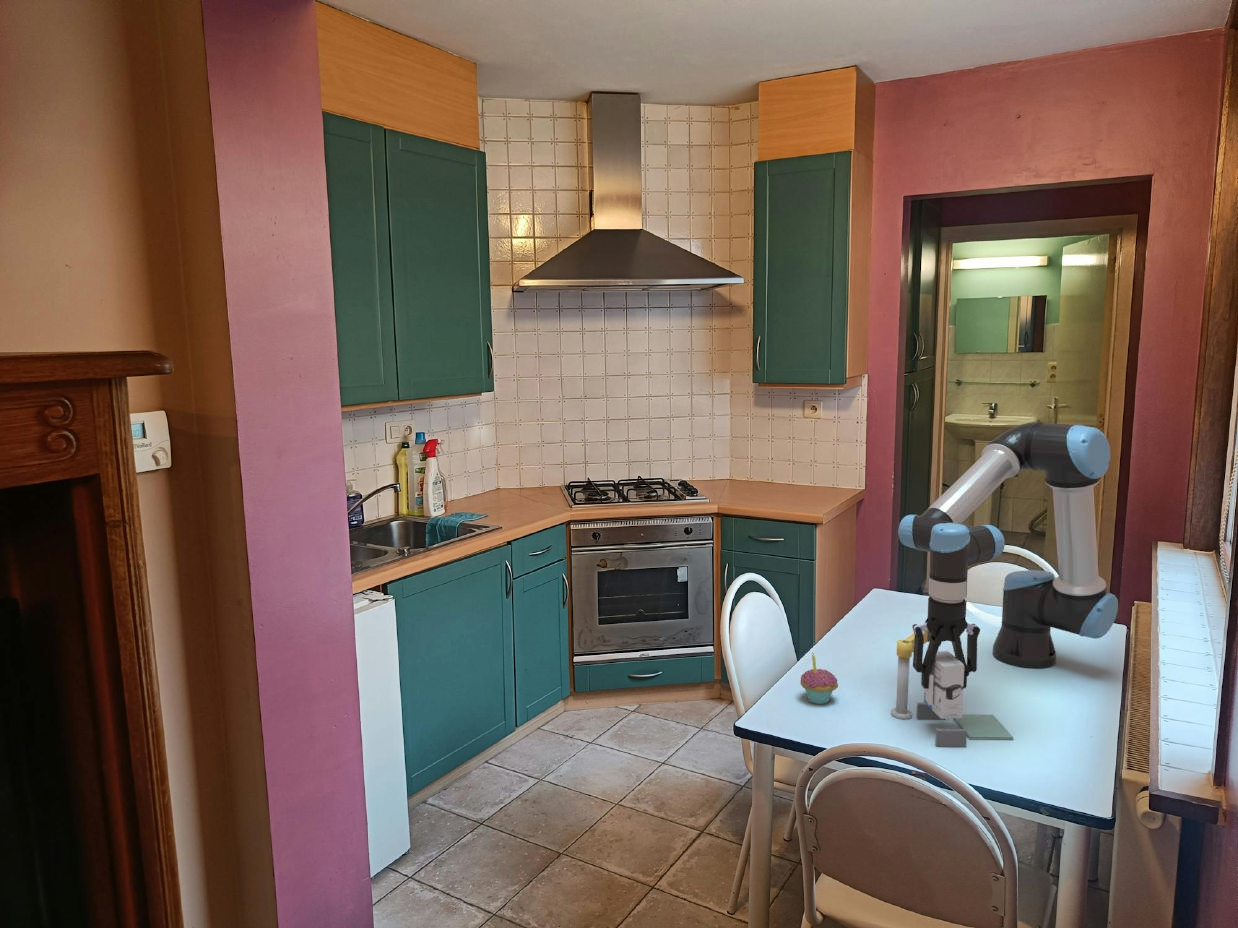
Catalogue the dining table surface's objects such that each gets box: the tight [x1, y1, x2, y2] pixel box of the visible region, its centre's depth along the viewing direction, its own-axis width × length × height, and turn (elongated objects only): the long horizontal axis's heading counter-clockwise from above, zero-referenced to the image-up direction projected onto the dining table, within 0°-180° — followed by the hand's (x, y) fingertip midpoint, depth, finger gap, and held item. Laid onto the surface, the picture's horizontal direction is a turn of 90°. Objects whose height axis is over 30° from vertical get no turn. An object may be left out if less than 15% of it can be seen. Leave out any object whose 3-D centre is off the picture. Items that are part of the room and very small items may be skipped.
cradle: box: [890, 656, 968, 748], centre depth 187 cm, size 11×17×14 cm, turn 178°
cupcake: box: [800, 652, 839, 705], centre depth 202 cm, size 9×8×12 cm
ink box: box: [923, 650, 964, 720], centre depth 185 cm, size 8×5×12 cm, turn 5°
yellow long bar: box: [896, 629, 931, 658], centre depth 196 cm, size 15×3×3 cm, turn 140°
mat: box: [952, 713, 1014, 741], centre depth 188 cm, size 9×11×1 cm
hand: (943, 701), depth 185 cm, fingers closed on ink box, 5 cm apart
